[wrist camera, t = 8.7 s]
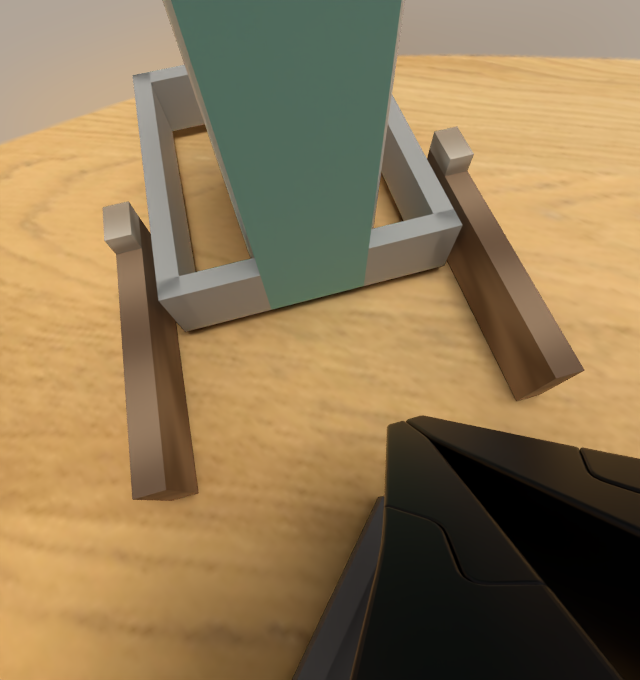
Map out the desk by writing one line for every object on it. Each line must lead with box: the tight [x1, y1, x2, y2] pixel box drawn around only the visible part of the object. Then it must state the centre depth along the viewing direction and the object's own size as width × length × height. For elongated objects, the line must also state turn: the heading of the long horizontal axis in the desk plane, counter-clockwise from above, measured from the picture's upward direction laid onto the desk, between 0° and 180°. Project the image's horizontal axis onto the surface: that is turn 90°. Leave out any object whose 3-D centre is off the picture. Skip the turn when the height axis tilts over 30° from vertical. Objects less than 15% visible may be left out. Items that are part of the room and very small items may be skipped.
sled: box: [133, 0, 462, 332], centre depth 16 cm, size 16×14×16 cm
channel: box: [103, 127, 584, 501], centre depth 18 cm, size 13×18×4 cm
